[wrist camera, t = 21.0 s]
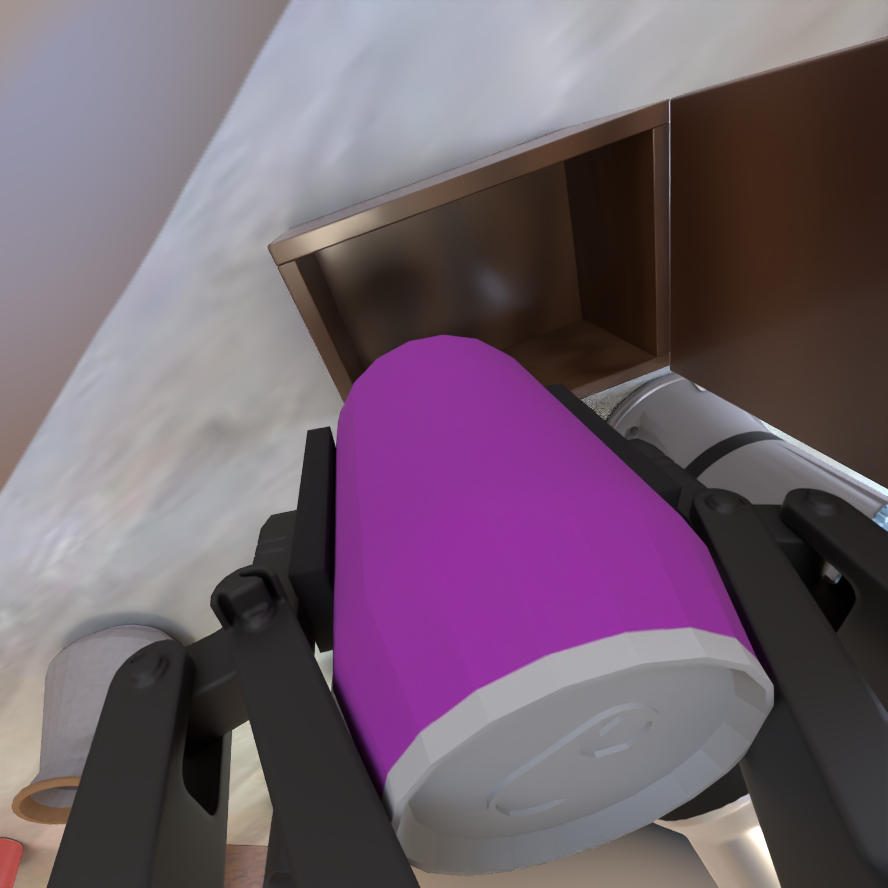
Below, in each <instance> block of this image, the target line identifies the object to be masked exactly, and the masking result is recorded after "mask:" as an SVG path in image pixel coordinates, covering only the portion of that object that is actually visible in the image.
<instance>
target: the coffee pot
mask: <svg viewBox="0 0 888 888" xmlns="http://www.w3.org/2000/svg"><path fill="white" fill-rule="evenodd" d="M166 639H170V640H173V639H172V638H171V637H170V636H169V635H168V634H166V633H164V632H163V631H161V630H158V629H155V628H152V627H149V626H142V625H121V626H114V627H111V628H108V629H105V630H102V631H99V632H96V633H93V634H90V635H87V636H85V637H82V638H80V639H78V640H77V641H75V642H74V643H72V644H70V645H69V646H67V647H66V648H65V649H63V650H62V651H61V652H60V653H59V654H58V655H57V656H56V657H55V658H54V660H53V661H52V662H51V663H50V664H49V667H48V671H47V674H46V678H45V694H44V709H43V725H42V740H41V756H40V771H39V773H38V774H37V776H36V777H35V778H34V780H33V781H32V782H31V784H30V785H29V786H27V787H26V788H24V789H22V790H21V791H20V792H19V793H18V794H17V795H16V796H15V798H14V800H13V803H12V809H13V812H14V813H15V814H16V815H17V816H19V817H20V818H23V819H25V820H27V821H31V822H35V823H42V824H67V821H68V817H69V814H70V811H71V808H72V804H73V801H74V798H75V795H76V792H77V788H78V785H79V782H80V779H81V775H82V772H83V769H84V766H85V763H86V759H87V756H88V753H89V750H90V746H91V743H92V740H93V737H94V734H95V730H96V727H97V724H98V721H99V717H100V714H101V711H102V708H103V705H104V701H105V698H106V695H107V692H108V689H109V685H110V683H111V681H112V679H113V677H114V675H115V673H116V671H117V670H118V669H119V668H120V667H121V665H122V664H123V663H124V662H125V661H126V660H127V659H128V658H129V657H130V656H132V655H133V654H134V653H136V652H137V651H138V650H140V649H141V648H143V647H145V646H147V645H149V644H151V643H153V642H156V641H161V640H166Z"/></svg>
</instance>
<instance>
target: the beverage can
mask: <svg viewBox="0 0 888 888" xmlns="http://www.w3.org/2000/svg"><path fill="white" fill-rule="evenodd" d="M333 692H334V694H335V697H336V699H337V702H338V704H339V707H340V709H341V712H342V714H343V717H344V719H345V722H346V724H347V727H348V729H349V732H350V734H351V737H352V739H353V742H354V744H355V746H356V748H357V750H358V753H359V755H360V757H361V759H362V761H363V764H364V766H365V768H366V770H367V772H368V774H369V777H370V779H371V781H372V783H373V785H374V788H375V790H376V792H377V794H378V796H379V798H380V801H381V803H382V805H383V807H384V809H385V812H386V814H387V816H388V818H389V820H390V822H391V825H392V827H393V829H394V831H395V833H396V836H397V838H398V840H399V842H400V844H401V846H402V849H403V851H404V853H405V855H406V857H407V860H408V862H409V864H410V865H411V866H413V867H416V868H418V869H421V870H423V871H425V872H427V873H435V874H447V875H458V876H473V875H483V874H492V873H501V872H511V871H515V870H519V869H524V868H528V867H532V866H537V865H541V864H545V863H549V862H554V861H558V860H561V859H563V858H566V857H569V856H572V855H575V854H578V853H581V852H584V851H587V850H589V849H592V848H595V847H598V846H601V845H604V844H606V843H608V842H611V841H613V840H615V839H617V838H619V837H621V836H624V835H626V834H628V833H630V832H632V831H635V830H637V829H639V828H641V827H643V826H646V825H648V824H650V823H652V822H653V821H655V820H657V819H659V818H660V817H662V816H664V815H666V814H667V813H669V812H671V811H672V810H674V809H676V808H678V807H679V806H681V805H683V804H684V803H686V802H688V801H690V800H691V799H693V798H694V797H696V796H697V795H698V794H700V793H701V792H702V791H704V790H705V789H706V788H708V787H709V786H710V785H712V784H713V783H714V782H716V781H717V780H718V779H720V778H721V777H722V776H724V775H725V774H726V773H728V772H729V771H730V770H731V769H732V768H733V767H734V766H735V765H736V764H737V763H738V762H739V761H740V760H741V759H742V758H743V757H744V756H745V754H746V752H747V751H748V749H749V747H750V746H751V744H752V742H753V740H754V739H755V737H756V735H757V734H758V732H759V730H760V728H761V727H762V725H763V723H764V721H765V720H766V718H767V716H768V715H769V713H770V711H771V709H772V708H773V706H774V686H773V684H772V682H771V681H770V679H769V677H768V676H767V674H766V673H765V671H764V669H763V668H762V666H761V664H760V663H759V661H758V660H757V657H756V655H755V653H754V651H753V648H752V646H751V644H750V642H749V639H748V637H747V635H746V633H745V631H744V628H743V626H742V624H741V622H740V619H739V617H738V615H737V613H736V611H735V608H734V606H733V604H732V602H731V599H730V597H729V595H728V593H727V590H726V588H725V586H724V584H723V582H722V579H721V577H720V575H719V573H718V570H717V568H716V566H715V564H714V561H713V559H712V557H711V555H710V553H709V550H708V548H707V546H706V545H705V544H704V543H703V541H702V540H701V539H700V538H699V537H698V535H697V534H696V533H695V532H694V531H693V530H692V528H691V527H690V526H689V525H688V524H687V522H686V521H685V520H684V519H683V518H682V517H681V515H679V514H678V513H677V512H676V511H675V510H674V509H673V508H672V507H671V506H670V505H669V504H668V503H667V502H666V501H665V500H664V499H663V498H661V497H660V496H659V495H658V494H657V493H656V492H655V491H654V490H653V489H652V488H651V487H650V486H649V485H648V484H647V483H646V482H644V481H643V480H642V479H641V478H640V477H639V476H638V475H637V474H636V473H635V472H634V471H633V470H632V469H631V468H630V467H629V466H627V465H626V464H625V463H624V462H623V461H622V460H621V459H620V458H619V457H618V456H617V455H616V454H615V453H614V452H613V451H612V450H611V449H609V448H608V447H607V446H606V445H605V444H604V443H603V442H602V441H601V440H600V439H599V438H598V437H597V436H596V435H595V434H594V433H592V432H591V431H590V430H589V429H588V428H587V427H586V426H585V425H584V424H583V423H582V422H581V421H580V420H579V419H578V418H577V417H575V416H574V415H573V414H572V413H571V412H570V411H569V410H568V409H567V408H566V407H565V406H564V405H563V404H562V403H561V402H560V401H559V400H557V399H556V398H555V397H554V396H553V395H552V394H551V393H550V392H549V391H548V390H547V389H546V388H545V387H544V386H543V385H542V384H540V383H539V382H538V381H537V380H536V379H535V378H534V377H533V376H532V375H531V374H530V373H529V372H528V371H527V370H526V369H525V368H523V367H522V366H521V365H520V364H519V363H518V362H517V361H516V360H515V359H514V358H512V357H511V356H509V355H507V354H505V353H504V352H502V351H500V350H498V349H496V348H494V347H492V346H490V345H488V344H486V343H484V342H482V341H480V340H478V339H473V338H465V337H457V336H450V335H439V336H434V337H429V338H424V339H419V340H413V341H409V342H407V343H405V344H403V345H401V346H399V347H398V348H396V349H394V350H392V351H390V352H388V353H387V354H385V355H383V356H381V357H379V358H377V359H376V360H375V361H374V363H373V364H372V365H371V366H370V367H369V368H368V369H367V370H366V371H365V372H364V373H363V374H362V375H361V376H360V377H359V378H358V379H357V380H356V382H355V383H354V384H353V386H352V388H351V390H350V393H349V395H348V397H347V399H346V401H345V404H344V406H343V408H342V410H341V412H340V416H339V420H338V428H337V442H336V470H335V545H334V618H333Z"/></svg>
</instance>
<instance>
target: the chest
mask: <svg viewBox="0 0 888 888" xmlns="http://www.w3.org/2000/svg"><path fill="white" fill-rule="evenodd" d="M668 122H670V99H666V100H663V101H659V102H656V103H652V104H649V105H645V106H642V107H638V108H634V109H631V110H627V111H624V112H620V113H617V114H613V115H610V116H606V117H602V118H599V119H595V120H592V121H588V122H585V123H581V124H578V125H574V126H570V127H567V128H564V129H561V130H558V131H556V132H553V133H550V134H548V135H545V136H542V137H539V138H537V139H534V140H531V141H528V142H526V143H523V144H520V145H517V146H515V147H512V148H509V149H506V150H504V151H501V152H498V153H496V154H493V155H490V156H487V157H485V158H482V159H479V160H476V161H474V162H471V163H468V164H465V165H463V166H460V167H457V168H454V169H452V170H449V171H446V172H444V173H441V174H438V175H435V176H433V177H430V178H427V179H424V180H422V181H419V182H416V183H413V184H411V185H408V186H405V187H402V188H400V189H397V190H394V191H392V192H389V193H386V194H383V195H381V196H378V197H375V198H372V199H370V200H367V201H364V202H361V203H359V204H356V205H353V206H350V207H348V208H345V209H342V210H340V211H337V212H334V213H331V214H329V215H326V216H323V217H320V218H318V219H315V220H312V221H309V222H307V223H304V224H301V225H298V226H296V227H293V228H290V229H289V230H288V231H286V232H285V233H284V234H282V235H281V236H280V237H279V238H277V239H276V240H275V241H273V242H272V243H271V244H269V245H268V249H269V251H270V253H271V255H272V257H273V259H274V261H275V264H276V265H277V266H278V270H279V272H280V274H281V276H282V278H283V280H284V282H285V284H286V286H287V288H288V290H289V292H290V294H291V296H292V298H293V300H294V302H295V304H296V306H297V308H298V310H299V312H300V314H301V316H302V318H303V320H304V322H305V324H306V326H307V328H308V330H309V333H310V335H311V337H312V339H313V341H314V343H315V345H316V347H317V349H318V351H319V353H320V355H321V357H322V359H323V361H324V363H325V365H326V367H327V369H328V371H329V373H330V375H331V377H332V379H333V381H334V383H335V385H336V387H337V389H338V391H339V393H340V396H341V398H342V400H343V402H344V404H345V401H346V399H347V397H348V395H349V393H350V390H351V388H352V386H353V384H354V383H355V382H356V380H357V379H358V378H359V377H360V376H361V375H362V374H363V373H364V372H365V371H366V370H367V369H368V368H369V367H370V366H371V365H372V364H373V363H374V361H375V360H376V359H377V358H379V357H381V356H383V355H385V354H387V353H388V352H390V351H392V350H394V349H396V348H398V347H399V346H401V345H403V344H405V343H407V342H409V341H413V340H419V339H424V338H429V337H434V336H439V335H450V336H457V337H465V338H473V339H478V340H480V341H482V342H484V343H486V344H488V345H490V346H492V347H494V348H496V349H498V350H500V351H502V352H504V353H505V354H507V355H509V356H511V357H512V358H514V359H515V360H516V361H517V362H518V363H519V364H520V365H521V366H522V367H523V368H525V369H526V370H527V371H528V372H529V373H530V374H531V375H532V376H533V377H534V378H535V379H536V380H537V381H538V382H539V383H540V384H542V385H543V386H544V387H545V386H550V385H556V384H562V385H564V386H565V387H566V388H567V389H568V390H569V391H571V392H572V393H573V394H574V395H575V396H576V397H578V398H579V399H582V398H585V397H588V396H590V395H593V394H596V393H598V392H601V391H603V390H606V389H609V388H611V387H614V386H617V385H619V384H622V383H624V382H627V381H630V380H632V379H635V378H638V377H640V376H643V375H645V374H648V373H651V372H653V371H656V370H659V369H661V368H664V367H666V366H669V365H670V353H669V352H670V123H668Z"/></svg>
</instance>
